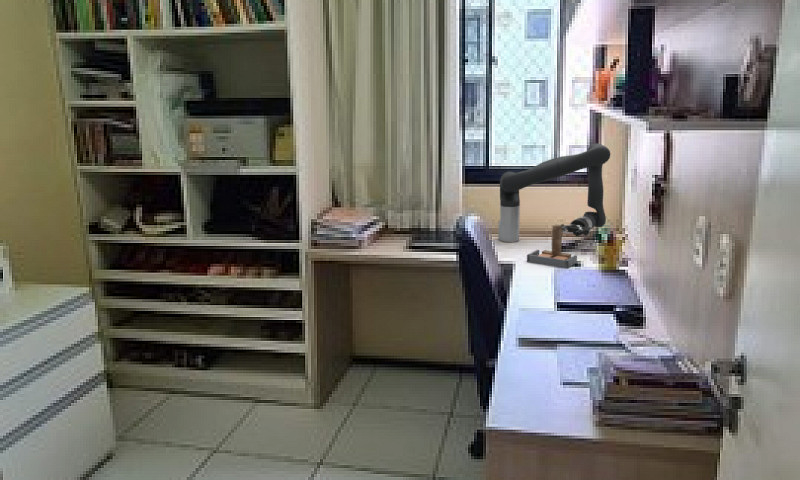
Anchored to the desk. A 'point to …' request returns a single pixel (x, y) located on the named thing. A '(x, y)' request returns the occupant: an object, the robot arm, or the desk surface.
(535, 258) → the box
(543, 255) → the tile
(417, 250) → the desk surface
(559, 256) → the tile
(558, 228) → the wooden peg stand
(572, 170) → the robot arm
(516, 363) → the desk surface
